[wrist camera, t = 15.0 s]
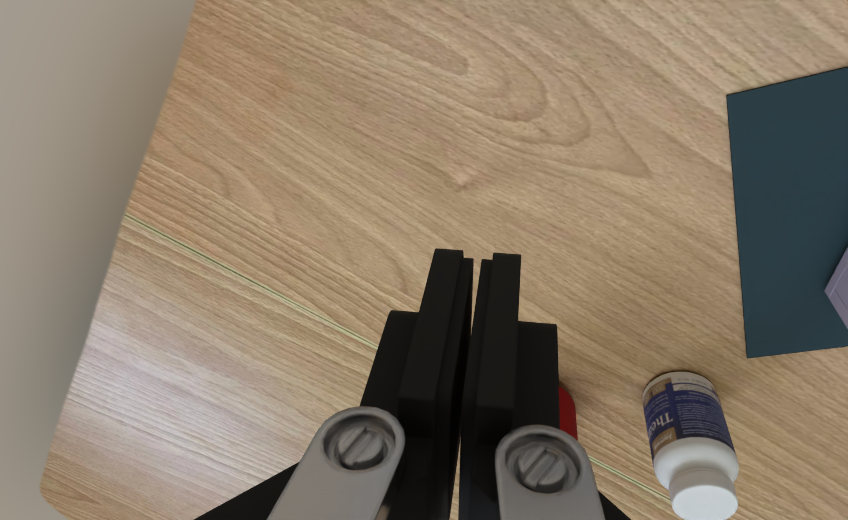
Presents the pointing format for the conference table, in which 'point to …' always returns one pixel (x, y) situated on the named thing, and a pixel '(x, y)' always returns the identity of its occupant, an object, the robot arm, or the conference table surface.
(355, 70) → the conference table surface
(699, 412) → the pill bottle
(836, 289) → the lavender lidded box
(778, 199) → the mat
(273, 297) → the conference table surface
